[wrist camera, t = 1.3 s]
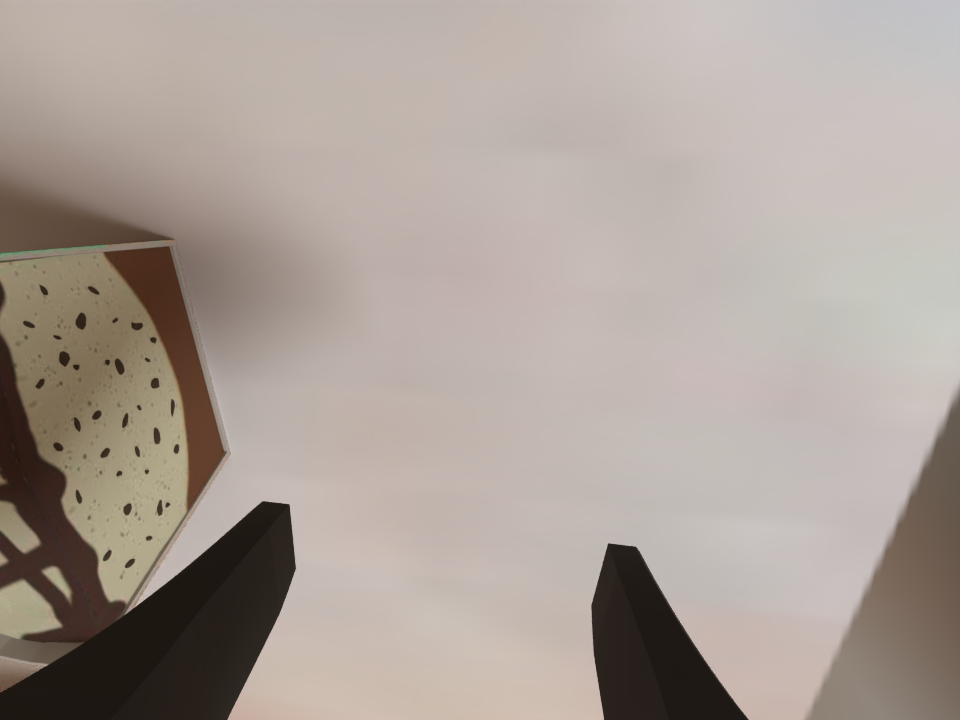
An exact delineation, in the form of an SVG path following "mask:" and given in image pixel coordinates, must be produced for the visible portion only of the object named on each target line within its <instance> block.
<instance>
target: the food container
mask: <svg viewBox="0 0 960 720" xmlns="http://www.w3.org/2000/svg"><path fill="white" fill-rule="evenodd" d="M230 454H231V453H230V449H229V445H228V441H227V437H226V434H225V430H224V426H223V422H222V419H221V415H220V411H219V407H218V403H217V400H216V396H215V392H214V388H213V384H212V381H211V377H210V373H209V369H208V365H207V362H206V358H205V354H204V350H203V346H202V343H201V339H200V335H199V331H198V327H197V324H196V320H195V316H194V312H193V308H192V305H191V301H190V297H189V293H188V289H187V286H186V282H185V278H184V274H183V270H182V267H181V263H180V259H179V255H178V251H177V248H176V244H175V240H174V239H172V240H159V241H146V242H134V243H121V244H108V245H95V246H83V247H70V248H57V249H45V250H32V251H19V252H7V253H0V659H4V660H8V661H13V662H18V663H23V664H28V665H37V666H47V665H49V664H50V663H52V662H54V661H55V660H57V659H59V658H60V657H62V656H64V655H65V654H67V653H68V652H70V651H72V650H73V649H75V648H76V647H78V646H80V645H81V644H83V643H84V642H86V641H87V640H89V639H90V638H92V637H93V636H95V635H96V634H98V633H99V632H101V631H102V630H104V629H105V628H107V627H108V626H110V625H111V624H112V623H114V622H115V621H117V620H118V619H120V618H121V617H122V616H124V615H125V614H127V613H128V612H129V611H131V610H132V609H133V608H134V606H135V604H136V603H137V601H138V600H139V598H140V596H141V595H142V593H143V592H144V590H145V588H146V587H147V585H148V584H149V582H150V581H151V579H152V577H153V576H154V574H155V573H156V571H157V569H158V568H159V566H160V565H161V563H162V561H163V560H164V558H165V557H166V555H167V554H168V552H169V550H170V549H171V547H172V546H173V544H174V542H175V541H176V539H177V538H178V536H179V534H180V533H181V531H182V530H183V528H184V527H185V525H186V523H187V522H188V520H189V519H190V517H191V515H192V514H193V512H194V511H195V509H196V507H197V506H198V504H199V503H200V501H201V500H202V498H203V496H204V495H205V493H206V492H207V490H208V488H209V487H210V485H211V484H212V482H213V480H214V479H215V477H216V476H217V474H218V473H219V471H220V469H221V468H222V466H223V465H224V463H225V461H226V460H227V458H228V457H229V455H230Z"/></svg>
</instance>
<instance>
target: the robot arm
mask: <svg viewBox="0 0 960 720" xmlns="http://www.w3.org/2000/svg"><path fill="white" fill-rule="evenodd" d="M295 570H296V565H295V555H294V545H293V535H292V525H291V515H290V505H289V504H282V503H273V502H265V501H263V502H261V503H260V504H259V505H258V506H256V507H255V508H254V509H253V510H252V511H251V512H250V513H248V514H247V515H246V516H245V517H244V518H243V519H242V520H241V521H239V522H238V523H237V524H236V525H235V526H234V527H233V528H232V529H230V530H229V531H228V532H227V533H226V534H225V535H224V536H222V537H221V538H220V539H219V540H218V541H217V542H216V543H214V544H213V545H212V546H211V547H210V548H209V549H207V550H206V551H205V552H204V553H203V554H202V555H200V556H199V557H198V558H197V559H196V560H194V561H193V562H192V563H191V564H190V565H188V566H187V567H186V568H185V569H184V570H182V571H181V572H180V573H179V574H178V575H176V576H175V577H174V578H173V579H171V580H170V581H169V582H167V583H166V584H165V585H163V586H162V587H161V588H160V589H158V590H157V591H156V592H154V593H153V594H152V595H151V596H149V597H148V598H147V599H145V600H144V601H143V602H142V603H140V604H139V605H138V606H136V607H135V608H133V609H132V610H131V611H129V612H128V613H127V614H125V615H124V616H122V617H121V618H120V619H118V620H117V621H115V622H114V623H112V624H111V625H110V626H108V627H107V628H105V629H104V630H102V631H101V632H99V633H98V634H96V635H95V636H93V637H92V638H90V639H89V640H87V641H86V642H84V643H83V644H81V645H80V646H78V647H76V648H75V649H73V650H72V651H70V652H68V653H67V654H65V655H64V656H62V657H60V658H59V659H57V660H55V661H54V662H52V663H50V664H49V665H47V666H45V667H44V668H42V669H41V670H39V671H37V672H36V673H34V674H32V675H31V676H29V677H27V678H26V679H24V680H22V681H21V682H19V683H17V684H15V685H13V686H12V687H10V688H8V689H6V690H4V691H3V692H1V693H0V720H227V719H228V717H229V715H230V713H231V711H232V709H233V707H234V705H235V703H236V701H237V699H238V697H239V695H240V693H241V691H242V689H243V687H244V685H245V683H246V681H247V679H248V677H249V675H250V673H251V671H252V669H253V667H254V665H255V663H256V661H257V659H258V656H259V654H260V652H261V650H262V648H263V646H264V644H265V642H266V640H267V638H268V636H269V634H270V632H271V630H272V628H273V626H274V624H275V622H276V620H277V618H278V616H279V614H280V611H281V609H282V606H283V603H284V600H285V598H286V595H287V592H288V590H289V587H290V584H291V581H292V578H293V575H294V572H295ZM592 629H593V647H594V657H595V664H596V671H597V677H598V683H599V690H600V696H601V702H602V708H603V714H604V720H748V718H747V717H746V716H745V715H744V713H743V712H742V711H741V710H740V708H739V707H738V706H737V704H736V703H735V702H734V700H733V699H732V698H731V696H730V695H729V694H728V692H727V691H726V690H725V688H724V687H723V685H722V684H721V683H720V681H719V680H718V678H717V677H716V676H715V674H714V673H713V671H712V670H711V668H710V667H709V666H708V664H707V663H706V661H705V660H704V658H703V657H702V655H701V654H700V652H699V651H698V649H697V648H696V646H695V645H694V643H693V642H692V640H691V639H690V637H689V635H688V634H687V632H686V631H685V629H684V628H683V626H682V624H681V623H680V621H679V620H678V618H677V617H676V615H675V613H674V612H673V610H672V608H671V607H670V605H669V603H668V602H667V600H666V598H665V596H664V595H663V593H662V591H661V590H660V588H659V586H658V584H657V583H656V581H655V579H654V577H653V575H652V574H651V572H650V570H649V568H648V566H647V564H646V563H645V561H644V559H643V557H642V555H641V553H640V551H639V550H638V549H637V548H636V547H633V546H625V545H617V544H609V543H608V546H607V550H606V554H605V557H604V561H603V565H602V568H601V572H600V576H599V580H598V583H597V587H596V591H595V595H594V598H593V602H592Z"/></svg>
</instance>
